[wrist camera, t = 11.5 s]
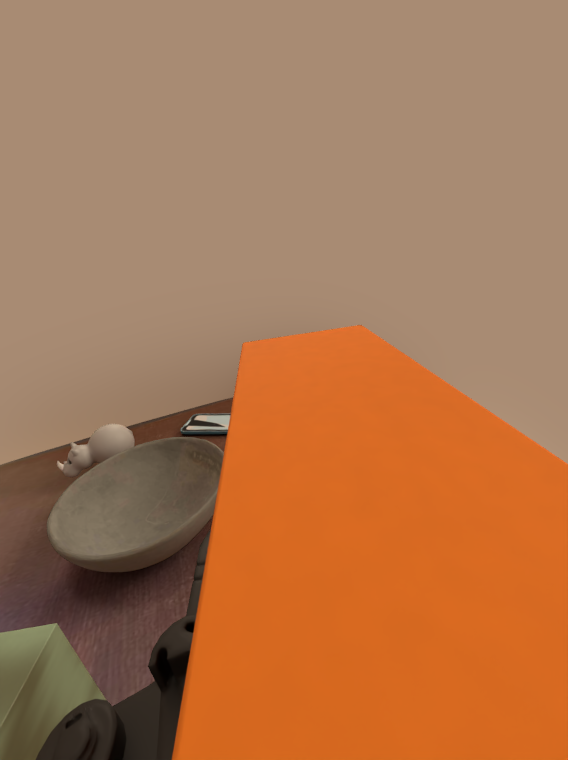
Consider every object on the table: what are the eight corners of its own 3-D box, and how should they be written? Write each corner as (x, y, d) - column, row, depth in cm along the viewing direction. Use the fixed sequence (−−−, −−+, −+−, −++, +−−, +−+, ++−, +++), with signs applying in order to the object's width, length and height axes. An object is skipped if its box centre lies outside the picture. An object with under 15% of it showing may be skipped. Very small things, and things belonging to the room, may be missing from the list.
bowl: (186, 461, 57) (175, 422, 54) (270, 510, 43) (260, 462, 40) (52, 545, 43) (26, 499, 40) (113, 656, 29) (81, 600, 26)
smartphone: (248, 431, 62) (178, 431, 65) (248, 435, 62) (179, 435, 65) (257, 412, 69) (194, 413, 72) (258, 416, 69) (195, 417, 72)
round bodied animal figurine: (68, 478, 57) (48, 438, 54) (137, 450, 63) (123, 412, 60) (70, 500, 51) (48, 456, 48) (145, 466, 57) (130, 425, 54)
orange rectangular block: (559, 1095, 6) (1166, 859, 1) (340, 1141, 6) (113, 1069, 1) (372, 573, 15) (361, 324, 10) (288, 588, 15) (242, 342, 10)
